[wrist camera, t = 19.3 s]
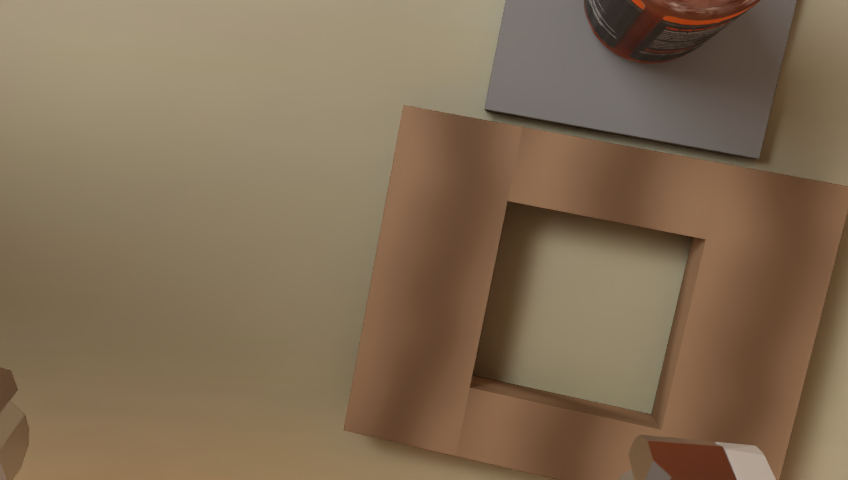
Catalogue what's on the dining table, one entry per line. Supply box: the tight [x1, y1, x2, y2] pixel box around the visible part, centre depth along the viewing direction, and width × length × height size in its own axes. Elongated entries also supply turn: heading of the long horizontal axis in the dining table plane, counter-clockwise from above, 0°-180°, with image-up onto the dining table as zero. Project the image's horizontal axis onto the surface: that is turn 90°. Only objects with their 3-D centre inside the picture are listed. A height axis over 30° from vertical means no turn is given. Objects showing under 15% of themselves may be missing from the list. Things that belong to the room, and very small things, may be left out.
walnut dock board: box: [344, 105, 848, 480], centre depth 31 cm, size 19×15×2 cm
